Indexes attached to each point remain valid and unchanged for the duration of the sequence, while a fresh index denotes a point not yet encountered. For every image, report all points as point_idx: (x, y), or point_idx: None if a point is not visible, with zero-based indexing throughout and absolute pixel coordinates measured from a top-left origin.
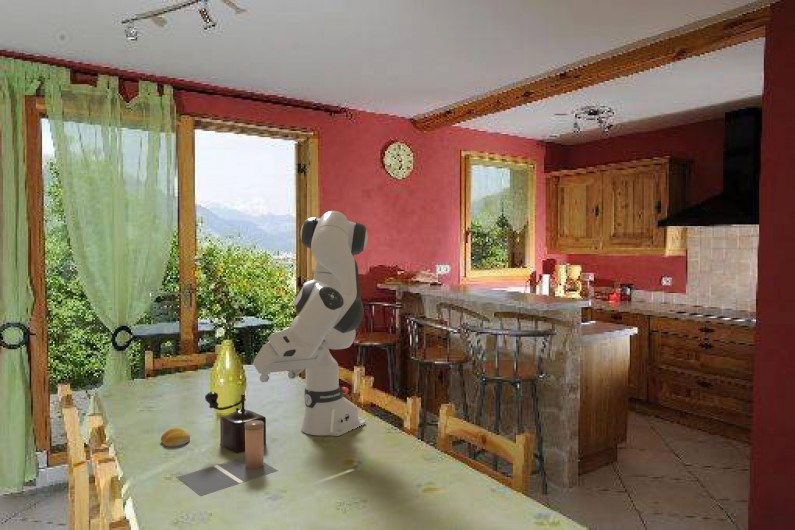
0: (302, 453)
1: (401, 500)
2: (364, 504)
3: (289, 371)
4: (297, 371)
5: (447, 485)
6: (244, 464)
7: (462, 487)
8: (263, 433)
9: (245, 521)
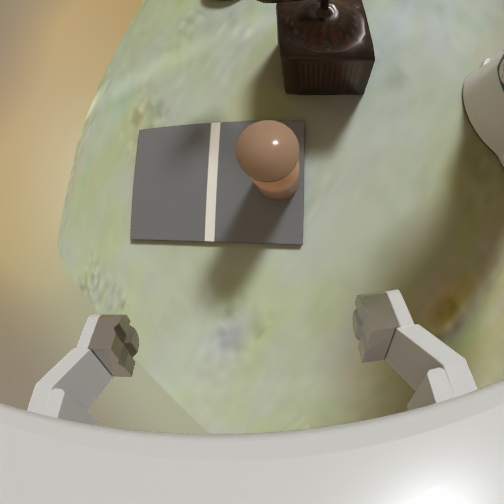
0: (406, 191)
1: None
2: None
3: (367, 321)
4: (406, 369)
5: None
6: None
7: None
8: (361, 79)
9: (150, 368)
